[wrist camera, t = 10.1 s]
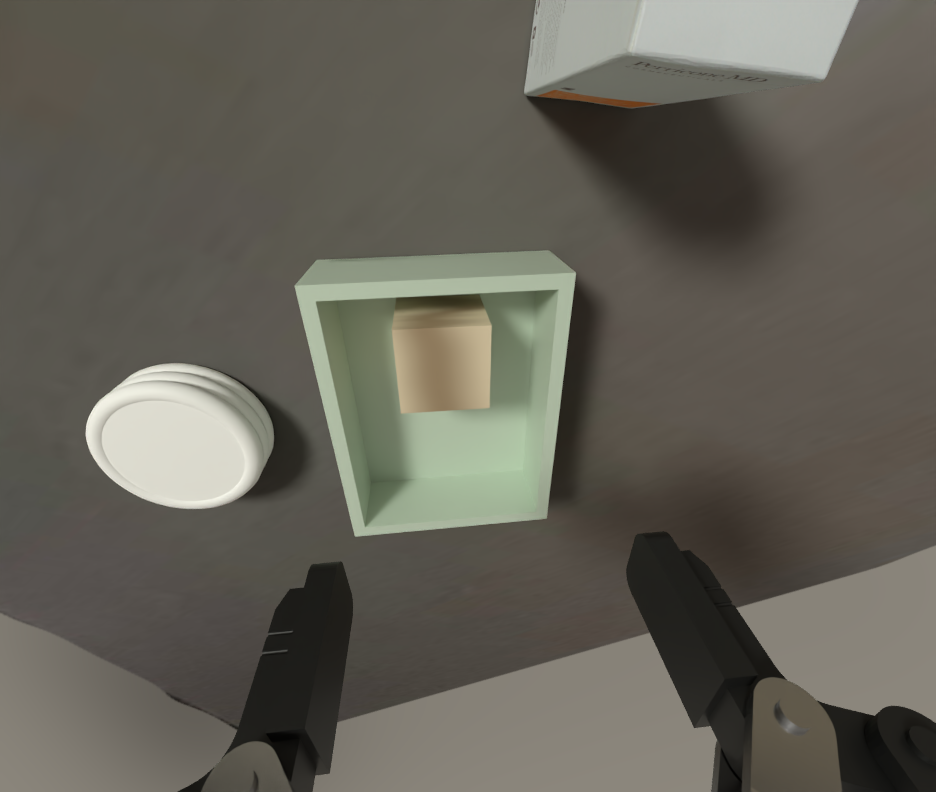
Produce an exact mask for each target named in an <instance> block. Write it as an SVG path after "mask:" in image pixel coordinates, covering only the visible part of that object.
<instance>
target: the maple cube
mask: <svg viewBox="0 0 936 792" xmlns="http://www.w3.org/2000/svg"><path fill="white" fill-rule="evenodd" d="M491 332H492V325H491V323H490V320H489V318H488V315H487V313H486V310H485V308H484V305H483V303H482V300H481V298H480V295H479V294H478V295H452V296H426V297H400V298H396V303H395V310H394V317H393V324H392V337H393V346H394V355H395V364H396V373H397V382H398V391H399V400H400V409H401V414H403V413H419V412H435V411H451V410H467V409H483V408H490V371H491Z"/></svg>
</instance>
